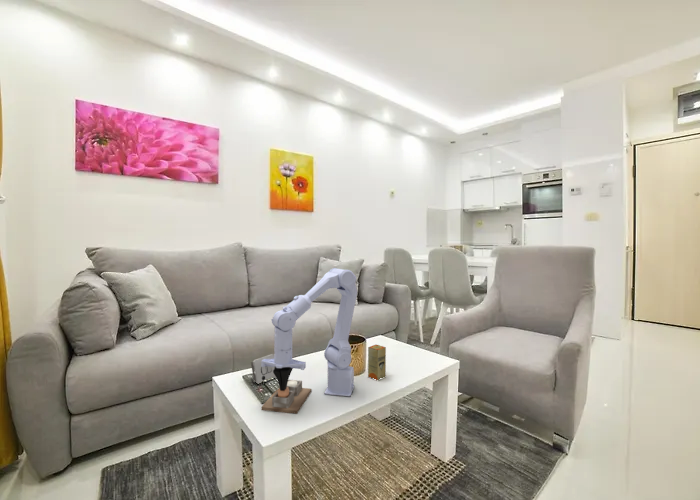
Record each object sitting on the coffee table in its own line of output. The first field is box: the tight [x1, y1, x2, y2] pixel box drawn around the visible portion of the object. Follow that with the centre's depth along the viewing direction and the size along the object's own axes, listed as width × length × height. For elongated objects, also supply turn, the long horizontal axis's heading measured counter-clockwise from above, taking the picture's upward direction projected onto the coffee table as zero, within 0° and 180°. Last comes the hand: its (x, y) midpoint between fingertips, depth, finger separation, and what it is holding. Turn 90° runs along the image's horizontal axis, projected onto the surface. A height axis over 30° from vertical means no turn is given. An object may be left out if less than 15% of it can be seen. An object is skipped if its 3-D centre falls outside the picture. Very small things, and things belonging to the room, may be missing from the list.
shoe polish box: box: [367, 344, 387, 381], centre depth 124 cm, size 5×5×12 cm
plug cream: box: [287, 379, 297, 387], centre depth 109 cm, size 4×4×3 cm
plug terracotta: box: [277, 387, 289, 398], centre depth 101 cm, size 4×4×3 cm
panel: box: [260, 379, 312, 415], centre depth 105 cm, size 12×15×4 cm
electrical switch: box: [250, 353, 277, 384], centre depth 121 cm, size 9×5×9 cm, turn 141°
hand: (283, 389), depth 101 cm, fingers closed, pressing on plug terracotta
